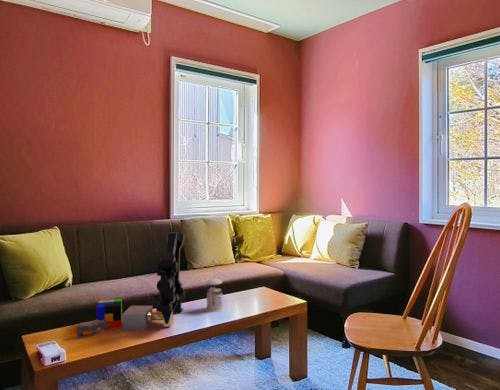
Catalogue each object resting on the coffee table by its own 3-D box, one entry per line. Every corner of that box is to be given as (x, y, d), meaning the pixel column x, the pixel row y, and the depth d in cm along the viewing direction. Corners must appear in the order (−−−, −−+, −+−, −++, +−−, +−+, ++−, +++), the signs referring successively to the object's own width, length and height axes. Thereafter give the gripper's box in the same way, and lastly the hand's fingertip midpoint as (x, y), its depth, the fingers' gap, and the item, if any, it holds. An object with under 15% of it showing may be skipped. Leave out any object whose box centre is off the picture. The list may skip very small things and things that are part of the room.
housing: (131, 320, 182) (130, 305, 182) (152, 320, 182) (152, 305, 182) (122, 330, 170) (122, 314, 170) (145, 330, 170) (145, 314, 170)
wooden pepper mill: (135, 321, 179) (135, 308, 179) (173, 321, 179) (172, 308, 179) (131, 326, 173) (131, 313, 173) (170, 326, 173) (170, 313, 173)
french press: (225, 306, 203) (225, 258, 202) (222, 313, 192) (221, 262, 191) (207, 305, 204) (206, 257, 203) (202, 313, 193) (201, 262, 192)
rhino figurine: (111, 332, 169) (111, 318, 168) (77, 339, 161) (77, 325, 160) (108, 329, 172) (108, 315, 172) (75, 336, 164) (74, 322, 164)
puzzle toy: (96, 330, 171) (96, 307, 171) (99, 322, 181) (98, 300, 181) (121, 327, 174) (120, 305, 174) (122, 320, 183) (121, 298, 183)
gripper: (155, 281, 185) (155, 314, 185) (143, 292, 166) (144, 328, 167) (178, 281, 185) (179, 314, 185) (170, 292, 166) (170, 328, 167)
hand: (168, 321), depth 176 cm, fingers closed on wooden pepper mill, 6 cm apart
